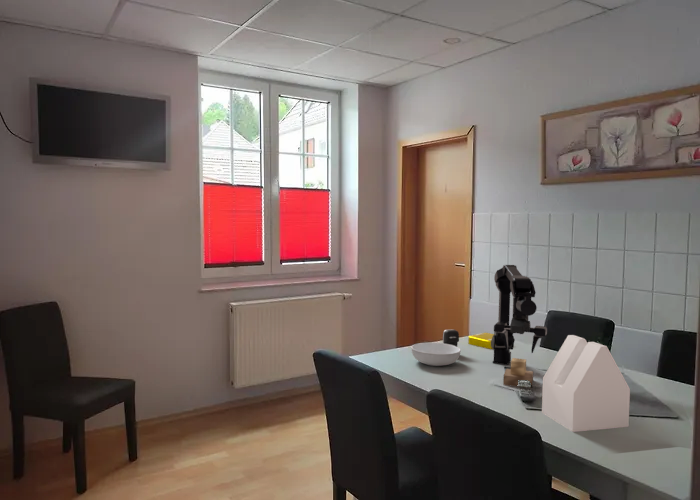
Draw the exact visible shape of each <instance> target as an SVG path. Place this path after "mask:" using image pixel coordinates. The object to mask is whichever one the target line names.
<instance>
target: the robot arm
mask: <svg viewBox="0 0 700 500" xmlns="http://www.w3.org/2000/svg"><path fill="white" fill-rule="evenodd" d="M494 283H495V286H496V287H495V288H496V289H497V290H498V293H499V294H498V319H497V320H498V321H497V322H496V323H495V324H494V325H493V334H494V335H493V337H492V340H491V347H492V348H493V349H492V350H493V360H492V363H493V364H499V365H509V364H511V360H512V351H510V350H514V346H515V341H516V340H515V338H514V334H519V335H524V334H525V333H531V334H533V333H534V335H533V337H532V342H531V343H532V346H531V354H533V353H534V351H535V348H536V345H537V343H538V341H539V339H542V338H543V337H546V336H547V334H548V328H547V326H546V325H545V326H543V325H542V326H541V325H535V327H531V320H529V317H530V316H532V315H534V314H535V313H536V312H537V308H538V307H537V305H536V303H535V302H534V301H533V300H532V298H536V297H535V296H536V293H537V292H536V289H535V284H534V282H533V281H532V280H531V278H530V277H528V276H525V275H522V273H521V272H520V271H519V270H518V269H517V265H515V264H504V265H503V266H502V267H501V268H499V269H497V270H496V272H495V274H494ZM511 295H512V318H511V321H510V314H511V313H510V312H511V311H510V310H511V308H510V305H511Z"/></svg>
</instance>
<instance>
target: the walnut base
mask: <svg viewBox="0 0 700 500" xmlns="http://www.w3.org/2000/svg"><path fill="white" fill-rule="evenodd" d="M502 380H503V381H502V384H503V386H510V385H511V386H512V387H518V386H517V385H518V380H528V381H530V383H531V385H532V386H533V383H534V371H533V370H526V373H525V376H522V375H514V374H511V368H506V369H505V371H504V373H503V379H502ZM511 386H510V387H511Z"/></svg>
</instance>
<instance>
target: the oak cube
mask: <svg viewBox="0 0 700 500" xmlns="http://www.w3.org/2000/svg"><path fill="white" fill-rule="evenodd" d="M510 369H511V374H514V375H522V376H525V373H526V371H527V359H525V358H516V357H511V361H510Z"/></svg>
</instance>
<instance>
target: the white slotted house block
mask: <svg viewBox="0 0 700 500" xmlns="http://www.w3.org/2000/svg"><path fill="white" fill-rule="evenodd" d="M541 394H542V396H541V397H542V399H541V403H542V404H541V414H543V415H545V416H546V417H548V418H549V419H551V420H553V421H554V422H556V423H557V424H559V425H560V426H563V428H565V429H567V430H568V431H570V432H573V433H574V432H584V431H585V432H586V431H587V432H588V431H597V430H607V429H616V428H617V429H619V428H627V427H628V428H629V427H630V425H629V420H630V400H631V399H630V398H631V389H630V386H629V385H628V383H627V381H626V379H625V377H624V375H623V374H622V372H621V369H620V368H619V366H618V365H617V363H616V361H615V359H614V357H613V355H612V354H611V352H610V350H609V348H608V346H607V345H605V344H604V345H603V344H602V343H598V342H595V341H588V342H587V339H585V338H584V337H580V336H578V335H575V334H568V335H567V336H566V338H565V339H564V342H563V343H562V345H561V347H559V350H558V352H557V353H556V354H555V357H554V358H553V360H552V362H551V363H550V365H549V367H548V368H547V370H546V372H545V374H544V376H543V377H542V393H541Z"/></svg>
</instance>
